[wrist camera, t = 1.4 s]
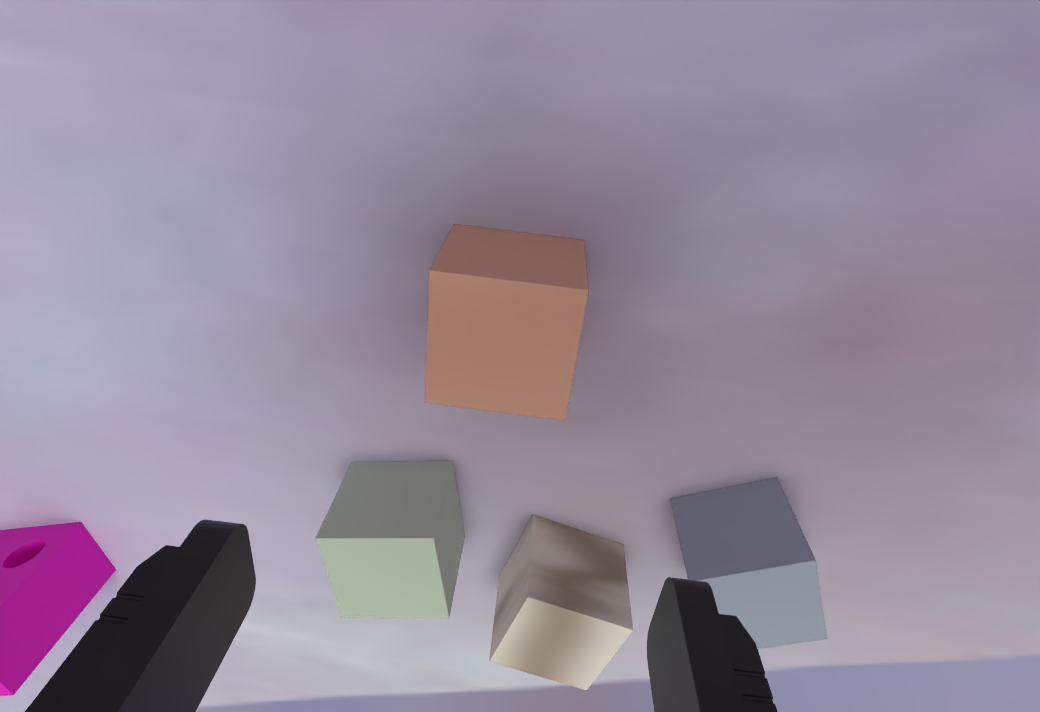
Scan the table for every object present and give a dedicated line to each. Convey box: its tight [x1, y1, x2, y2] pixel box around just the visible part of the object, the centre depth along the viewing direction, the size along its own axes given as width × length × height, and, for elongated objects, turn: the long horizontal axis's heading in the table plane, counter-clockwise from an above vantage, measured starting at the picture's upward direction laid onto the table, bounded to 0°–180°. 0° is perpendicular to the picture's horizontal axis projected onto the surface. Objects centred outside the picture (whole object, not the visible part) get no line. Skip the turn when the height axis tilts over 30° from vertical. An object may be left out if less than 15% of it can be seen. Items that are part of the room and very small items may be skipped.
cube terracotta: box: [425, 224, 589, 421], centre depth 22 cm, size 5×5×5 cm
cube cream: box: [489, 515, 633, 690], centre depth 29 cm, size 5×5×5 cm
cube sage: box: [315, 461, 465, 619], centre depth 28 cm, size 5×5×5 cm
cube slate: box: [670, 477, 827, 649], centre depth 27 cm, size 5×5×5 cm
